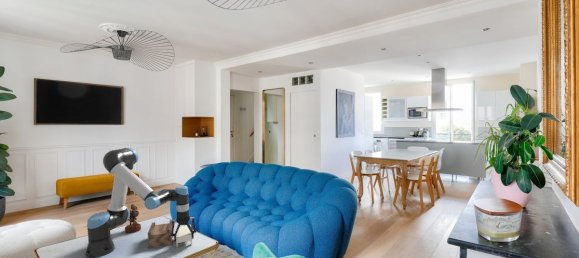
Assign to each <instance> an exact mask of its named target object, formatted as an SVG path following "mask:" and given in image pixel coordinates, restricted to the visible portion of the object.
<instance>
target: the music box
mask: <svg viewBox="0 0 579 258" xmlns="http://www.w3.org/2000/svg"><path fill="white" fill-rule="evenodd" d="M130 209H131V210H129V211H130V217H129V219H128V221H127V222H129V224H127V225H126V226H125V227H124V233H126V234H134V233H138V232H140V231H141V230H142V225H141V224H140V223H139V222H137V220H138V218H137V217H139V215H140V211H139V209H138V206H137V205H135V204H134V203H132V204H130Z"/></svg>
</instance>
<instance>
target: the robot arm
mask: <svg viewBox="0 0 579 258" xmlns="http://www.w3.org/2000/svg"><path fill="white" fill-rule="evenodd" d="M138 161H139V154H138V152H137V151H136V150H135V149H133V148H131V147H124V148H119V149H113V150H110V151H108V152H106V153H105V154H104V156H103V158H102V164H103V167H104V168H105V170H106V172H108V173H109V174H111V175H113V176H114V177H113V184H112V190H111V196H110V204H109V205H108V206H107V207H106V211H101V212H98V213H94V214H92V215H91V216H90V217H89V216H88V218H87V222H86V223H87V224H86V227H87V229H86V230H87V241H88V242H87V245H86V249H85V253H84V254H85V257H86V256H87V258H99V257H103V256H106V255H108V254H110V253H112V252H114V250H115V249H116V248H115V243H114V241H113V238H112V235H111V231H113V230H114V229H116V228H118V227H120V226H122V225H124V224H125V223H127V222H129V221H128V219H129V220H130V218H129V217H130V210H129V207H128V206H127V205H126V201H127V194H128V188H129V189H130V190H131V191H133V192H134V193H135V194H136V195H137V196H139V198H141V200H143V201H144V207H145V208H146V209H147V210H150V211H152V210H155V209H158V208H159V207H160V206H162V205H165V204H167V203H169V202H175V205H176V208H175V209H176V210H175V211H176V219H171V220H172V231H171V236H173V240H174V242H175V244H176V245H175V246H176V247H175V248H178V247H179V243H177V234H178V230H179V227H180V226H185V225H187V226H188V228H189V230H190V232H191V234H190V236H191V241H190V245H193V239H194V236H195V233H197V227H196V223H195V217H194V216H192V217H190V210H189V209H190V204H189V187H188V186H187V185H179V186H176V187H175V189H174V188H173V189H168V188H164V189H159V190H158V191H157V192H156V191H155V190H154V189H153V188H151V187H150V186H149V185H148V184H147V183H146V182H145V181H144V180H142V179H141V178H140V177H139V176H138V175H136V174H135V173H134V172H133V169H134V165H135V164H136V163H138ZM189 221H191V224H190V222H189ZM176 223H178V224H177V226H176V228H175V225H176ZM190 225H191V226H190ZM192 227H193V228H192Z"/></svg>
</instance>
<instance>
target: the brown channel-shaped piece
mask: <svg viewBox="0 0 579 258" xmlns="http://www.w3.org/2000/svg"><path fill="white" fill-rule="evenodd" d="M172 220H173V219H170V220H169V222H167V223H161V224H156V222H151V224H150V227H149V228H148V232H147V243H148V249H152V248H157V247H158V248H159V247H165V246H171V245H172V243H173V239H174V236H171V231H172ZM172 238H173V239H172Z"/></svg>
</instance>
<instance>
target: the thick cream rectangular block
mask: <svg viewBox="0 0 579 258" xmlns="http://www.w3.org/2000/svg"><path fill="white" fill-rule="evenodd" d="M190 226H191V227H192V224H190ZM190 234H191V232H190V230H189V228H188V226H187V225H180V227H179V230H178V232H177V243H178V244H179V243H186V242H187V243H188V242H191V236H190Z"/></svg>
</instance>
